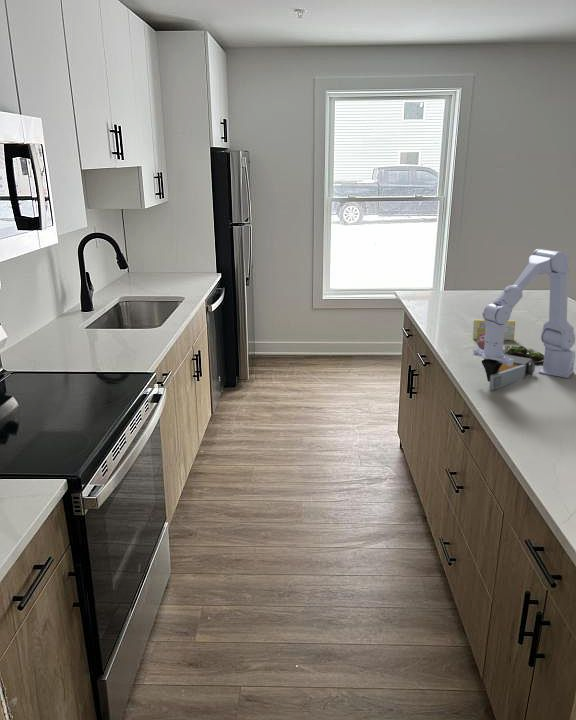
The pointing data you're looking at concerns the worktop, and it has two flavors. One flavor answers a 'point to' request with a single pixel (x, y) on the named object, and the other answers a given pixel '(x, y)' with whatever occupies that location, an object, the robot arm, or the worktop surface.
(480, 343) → the video game controller
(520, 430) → the worktop surface
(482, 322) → the candy box
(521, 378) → the side door
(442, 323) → the worktop surface
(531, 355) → the salad plate
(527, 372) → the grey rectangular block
